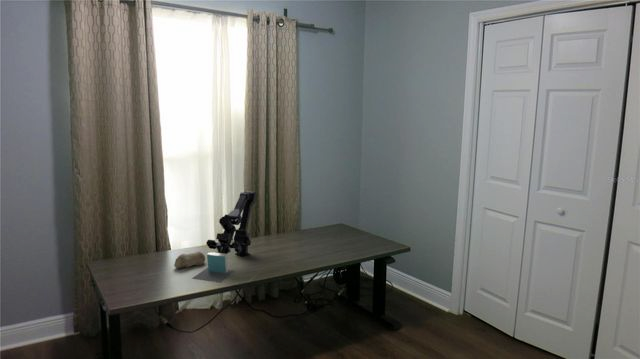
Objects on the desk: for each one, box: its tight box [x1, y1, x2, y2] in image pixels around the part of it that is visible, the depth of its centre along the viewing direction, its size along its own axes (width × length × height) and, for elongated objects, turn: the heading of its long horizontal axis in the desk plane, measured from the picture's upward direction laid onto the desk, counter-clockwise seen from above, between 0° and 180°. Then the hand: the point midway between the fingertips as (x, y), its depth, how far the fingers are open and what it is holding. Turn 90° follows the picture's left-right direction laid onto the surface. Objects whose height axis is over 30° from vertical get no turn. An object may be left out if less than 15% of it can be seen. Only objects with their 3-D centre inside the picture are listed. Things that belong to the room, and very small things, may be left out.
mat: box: [191, 267, 236, 283], centre depth 233 cm, size 18×16×1 cm
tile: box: [206, 251, 229, 274], centre depth 235 cm, size 3×10×10 cm, turn 76°
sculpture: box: [173, 251, 206, 270], centre depth 244 cm, size 9×17×10 cm
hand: (218, 259), depth 237 cm, fingers closed, pressing on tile
